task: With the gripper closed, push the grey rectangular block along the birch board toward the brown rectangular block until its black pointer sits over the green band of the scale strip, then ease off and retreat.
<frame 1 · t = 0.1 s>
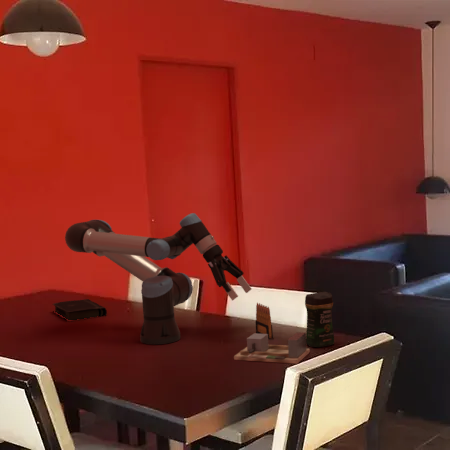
hand: (242, 294, 278), 15 cm above the table, tool tilted 35°, fingers open, 13 cm apart
ammunition clip: (264, 336, 276), on the table
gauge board: (272, 355, 249), on the table
coffee jar: (320, 345, 259), on the table
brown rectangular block: (297, 357, 245), resting on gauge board
diary: (78, 315, 334), on the table
grey rectangular block: (255, 344, 248), point 4 cm above the table, slide at 0.0 cm
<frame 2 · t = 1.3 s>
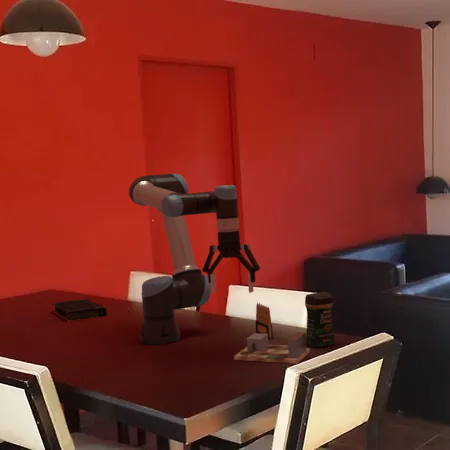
hand: (232, 292, 254), 21 cm above the table, tool pointing down, fingers open, 13 cm apart
nothing on the table moved.
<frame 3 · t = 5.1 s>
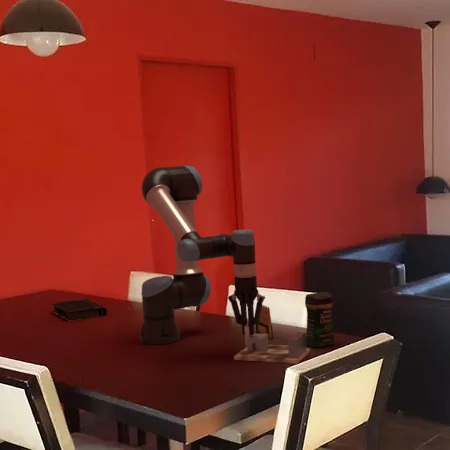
hand: (249, 344, 251), 4 cm above the table, tool pointing down, fingers closed
grey rectangular block: (255, 345, 248), point 4 cm above the table, slide at 0.1 cm, touching gripper
everything else where it was.
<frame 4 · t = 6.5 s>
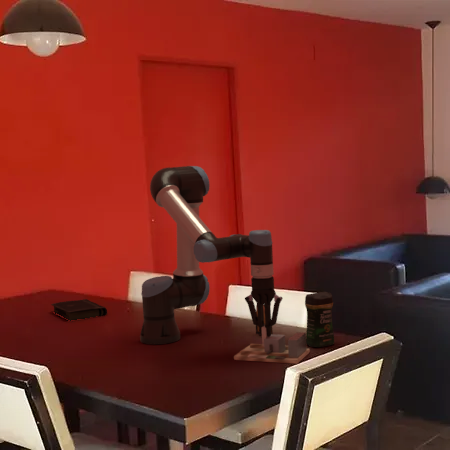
hand: (265, 345, 249), 3 cm above the table, tool pointing down, fingers closed
grey rectangular block: (272, 345, 246), point 4 cm above the table, slide at 6.1 cm, touching gripper
everything else where it was.
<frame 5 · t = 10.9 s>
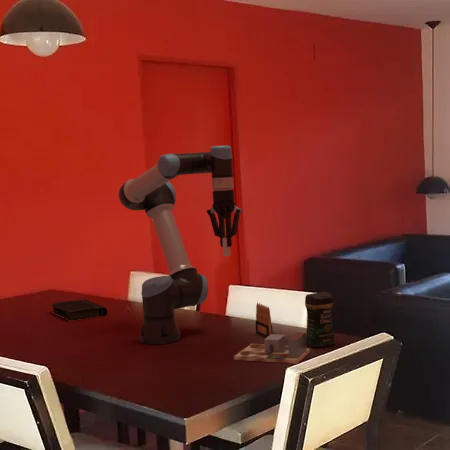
hand: (226, 255, 262), 32 cm above the table, tool pointing down, fingers closed
grey rectangular block: (273, 345, 246), point 4 cm above the table, slide at 6.2 cm
everything else where it was.
at the end: grey rectangular block slide at 6.2 cm; grey rectangular block touching nothing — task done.
